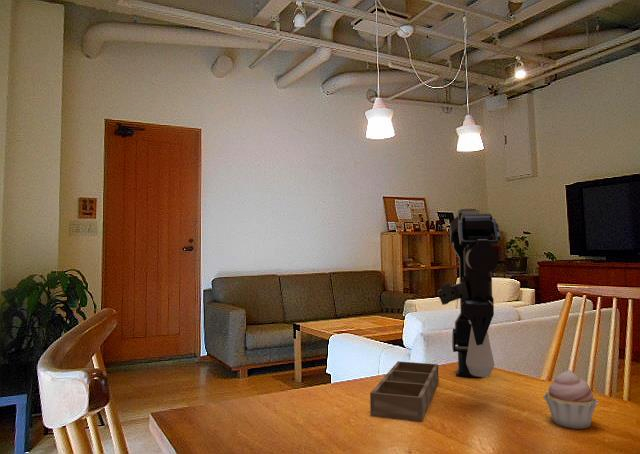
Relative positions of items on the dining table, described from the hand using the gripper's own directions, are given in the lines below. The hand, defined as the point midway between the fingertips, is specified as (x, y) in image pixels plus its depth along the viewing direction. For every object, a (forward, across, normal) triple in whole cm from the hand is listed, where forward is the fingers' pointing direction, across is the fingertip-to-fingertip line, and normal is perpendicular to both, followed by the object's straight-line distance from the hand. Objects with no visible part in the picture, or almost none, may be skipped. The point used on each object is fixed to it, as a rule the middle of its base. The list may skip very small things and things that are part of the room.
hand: (479, 343), depth 102 cm
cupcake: (+13, +6, +16) cm, 22 cm away
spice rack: (+13, 0, -16) cm, 20 cm away
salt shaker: (+7, 0, 0) cm, 7 cm away
